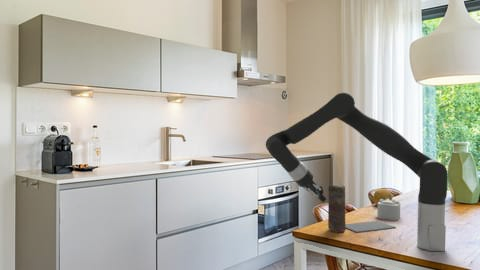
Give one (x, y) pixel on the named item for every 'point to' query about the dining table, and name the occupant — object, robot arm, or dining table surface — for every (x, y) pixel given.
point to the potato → (382, 195)
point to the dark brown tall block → (336, 208)
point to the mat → (368, 226)
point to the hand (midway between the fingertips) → (323, 200)
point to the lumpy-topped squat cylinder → (388, 209)
